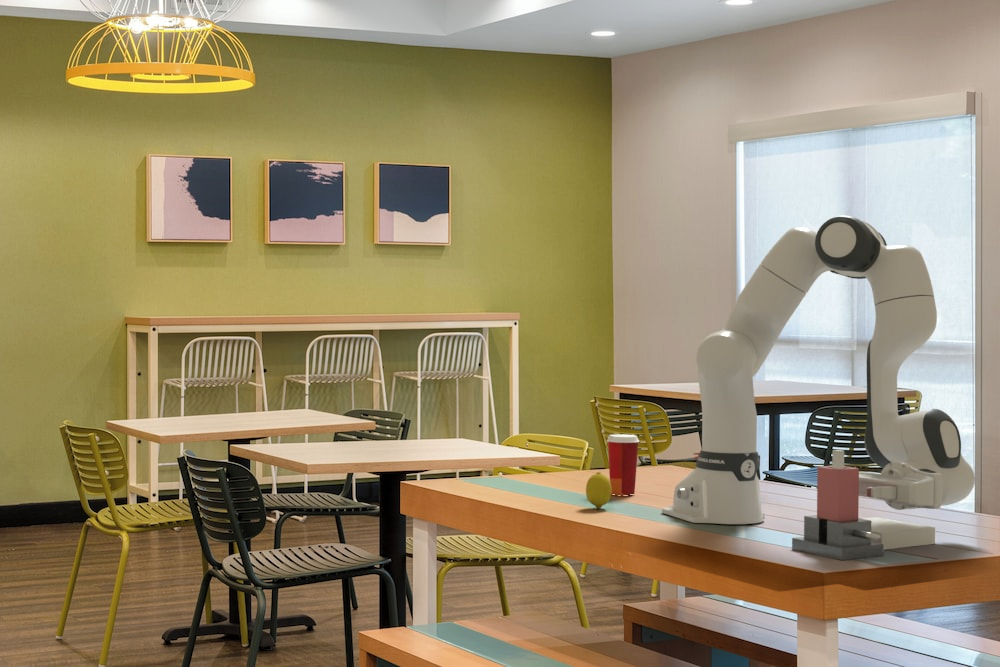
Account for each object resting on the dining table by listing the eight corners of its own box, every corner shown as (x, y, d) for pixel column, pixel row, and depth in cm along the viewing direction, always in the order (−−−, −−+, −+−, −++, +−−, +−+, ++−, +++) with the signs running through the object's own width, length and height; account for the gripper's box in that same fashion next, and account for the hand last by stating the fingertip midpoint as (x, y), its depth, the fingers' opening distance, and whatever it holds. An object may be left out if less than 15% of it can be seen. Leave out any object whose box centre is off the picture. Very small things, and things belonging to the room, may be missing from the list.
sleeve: (816, 517, 219) (817, 466, 219) (837, 515, 221) (837, 465, 221) (837, 521, 214) (838, 469, 214) (858, 519, 217) (859, 468, 217)
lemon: (601, 511, 263) (601, 474, 263) (580, 508, 267) (581, 471, 267) (616, 508, 267) (616, 472, 267) (596, 506, 271) (596, 469, 271)
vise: (792, 549, 220) (793, 448, 220) (832, 544, 226) (833, 446, 225) (858, 563, 207) (859, 457, 207) (899, 558, 212) (900, 454, 212)
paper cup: (639, 493, 293) (640, 434, 293) (637, 497, 286) (638, 437, 286) (607, 492, 295) (607, 433, 295) (604, 496, 287) (604, 436, 287)
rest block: (824, 537, 233) (824, 522, 233) (876, 532, 240) (876, 517, 240) (881, 549, 221) (881, 533, 221) (934, 543, 228) (935, 527, 228)
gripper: (860, 462, 235) (807, 465, 228) (948, 474, 218) (894, 478, 211) (860, 495, 235) (807, 499, 228) (948, 509, 218) (893, 514, 211)
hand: (849, 489), depth 219 cm, fingers open, 8 cm apart
